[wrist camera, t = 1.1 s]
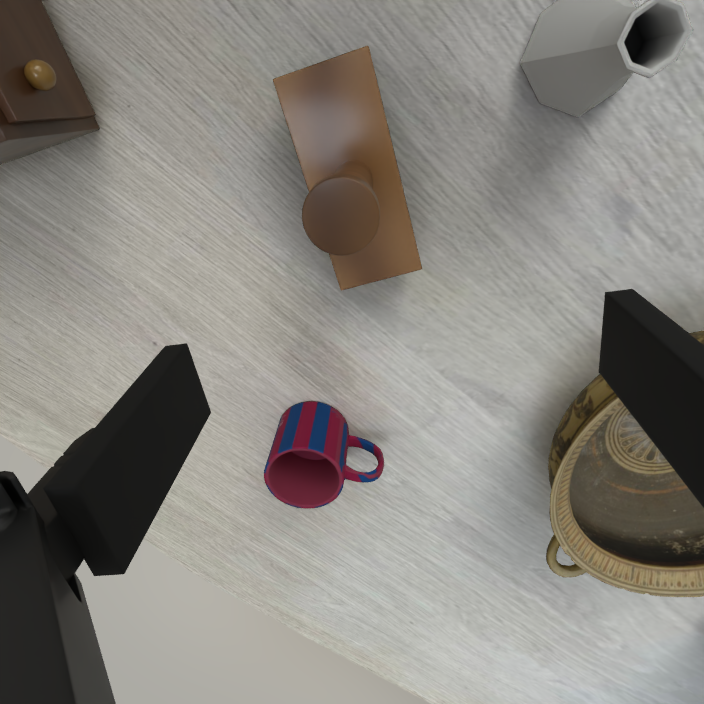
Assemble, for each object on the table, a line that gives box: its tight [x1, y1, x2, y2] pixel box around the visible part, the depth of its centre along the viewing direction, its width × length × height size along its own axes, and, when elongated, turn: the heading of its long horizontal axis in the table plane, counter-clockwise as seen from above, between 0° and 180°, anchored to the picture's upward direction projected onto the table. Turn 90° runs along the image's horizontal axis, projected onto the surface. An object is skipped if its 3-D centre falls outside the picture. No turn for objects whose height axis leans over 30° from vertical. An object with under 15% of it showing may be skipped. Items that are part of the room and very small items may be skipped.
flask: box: [520, 0, 693, 117], centre depth 28 cm, size 7×7×10 cm
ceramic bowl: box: [546, 331, 704, 597], centre depth 40 cm, size 30×24×10 cm
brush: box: [273, 46, 422, 290], centre depth 29 cm, size 6×14×15 cm, turn 17°
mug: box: [264, 401, 384, 508], centre depth 44 cm, size 7×10×7 cm
